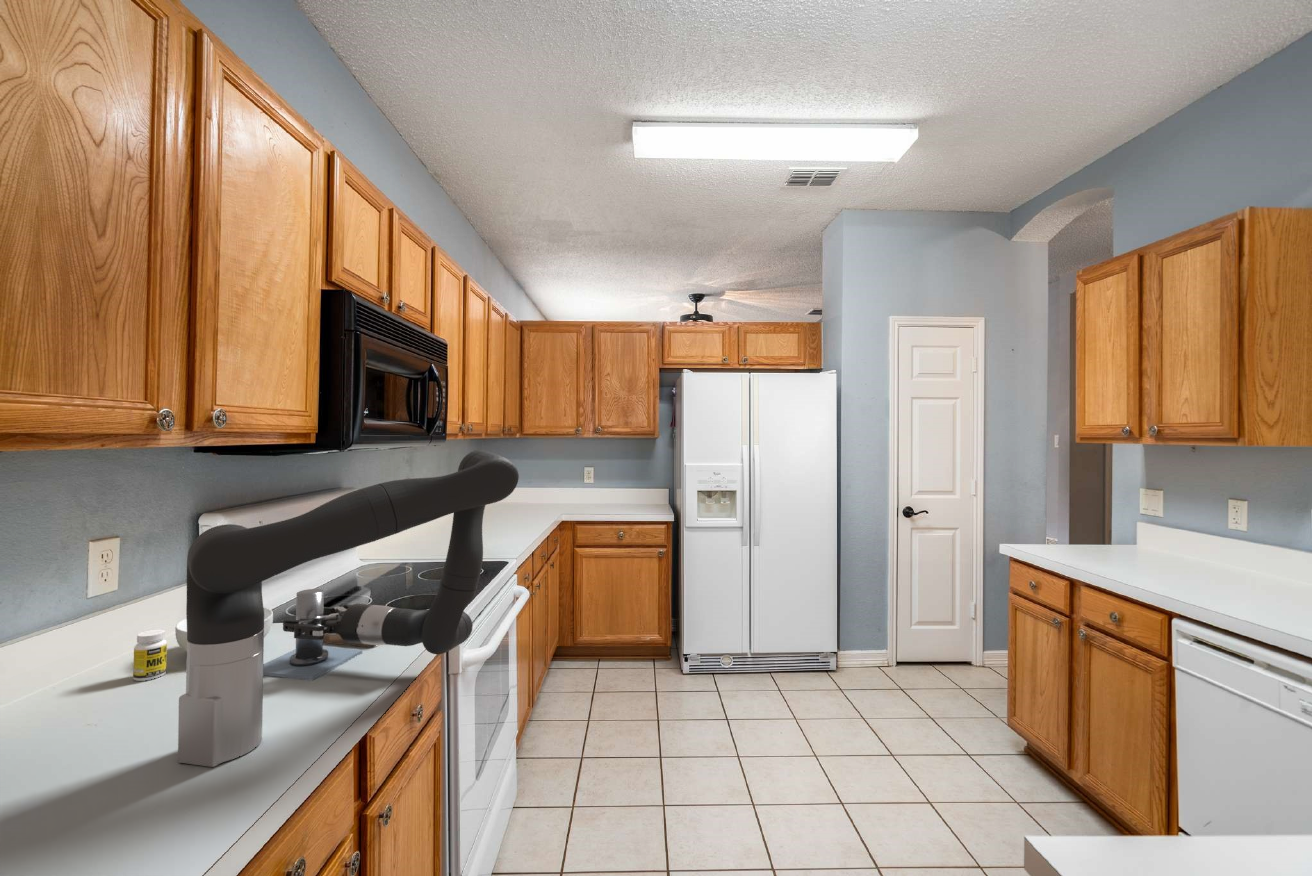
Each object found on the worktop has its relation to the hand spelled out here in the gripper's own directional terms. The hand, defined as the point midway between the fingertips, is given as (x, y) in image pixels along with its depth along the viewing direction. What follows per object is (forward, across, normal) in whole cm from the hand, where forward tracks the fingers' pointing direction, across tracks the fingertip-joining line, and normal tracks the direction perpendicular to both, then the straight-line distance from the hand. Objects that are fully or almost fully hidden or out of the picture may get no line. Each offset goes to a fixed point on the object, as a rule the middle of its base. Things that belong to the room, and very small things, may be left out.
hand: (301, 618), depth 117 cm
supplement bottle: (+22, +12, +9) cm, 27 cm away
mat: (-2, 0, +9) cm, 9 cm away
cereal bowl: (+20, -2, +9) cm, 22 cm away
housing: (-2, -18, +9) cm, 20 cm away
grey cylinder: (-2, 0, +8) cm, 9 cm away
